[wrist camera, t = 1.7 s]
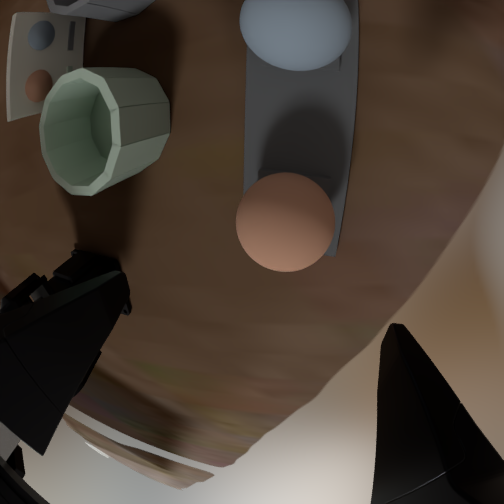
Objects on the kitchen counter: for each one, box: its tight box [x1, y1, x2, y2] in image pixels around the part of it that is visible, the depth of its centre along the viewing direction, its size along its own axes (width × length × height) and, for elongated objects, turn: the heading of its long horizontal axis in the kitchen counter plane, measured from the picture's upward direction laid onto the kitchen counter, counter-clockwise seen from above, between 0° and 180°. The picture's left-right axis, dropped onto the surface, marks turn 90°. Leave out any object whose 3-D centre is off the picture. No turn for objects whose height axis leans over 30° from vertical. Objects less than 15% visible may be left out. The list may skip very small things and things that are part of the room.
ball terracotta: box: [236, 172, 335, 272], centre depth 14 cm, size 5×5×5 cm
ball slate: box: [240, 0, 352, 71], centre depth 9 cm, size 5×5×5 cm
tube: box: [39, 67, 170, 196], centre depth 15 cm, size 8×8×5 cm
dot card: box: [6, 12, 86, 122], centre depth 12 cm, size 8×1×7 cm, turn 179°
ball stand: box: [244, 0, 359, 257], centre depth 14 cm, size 16×6×1 cm, turn 179°
